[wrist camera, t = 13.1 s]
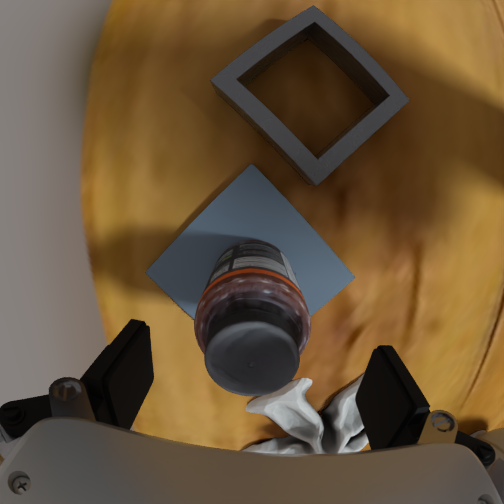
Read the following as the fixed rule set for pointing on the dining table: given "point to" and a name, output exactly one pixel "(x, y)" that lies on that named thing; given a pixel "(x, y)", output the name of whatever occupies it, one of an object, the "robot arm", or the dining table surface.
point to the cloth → (311, 421)
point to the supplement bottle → (252, 320)
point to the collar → (345, 56)
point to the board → (249, 228)
